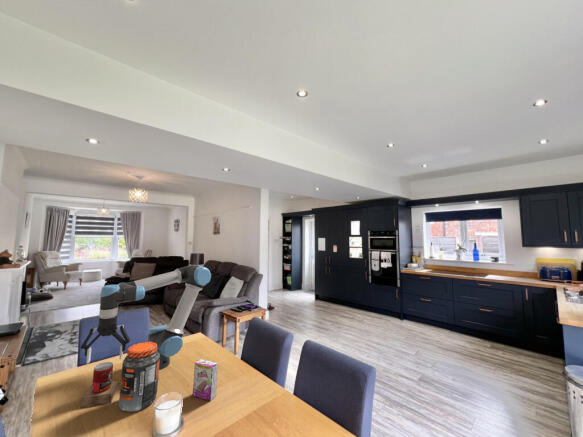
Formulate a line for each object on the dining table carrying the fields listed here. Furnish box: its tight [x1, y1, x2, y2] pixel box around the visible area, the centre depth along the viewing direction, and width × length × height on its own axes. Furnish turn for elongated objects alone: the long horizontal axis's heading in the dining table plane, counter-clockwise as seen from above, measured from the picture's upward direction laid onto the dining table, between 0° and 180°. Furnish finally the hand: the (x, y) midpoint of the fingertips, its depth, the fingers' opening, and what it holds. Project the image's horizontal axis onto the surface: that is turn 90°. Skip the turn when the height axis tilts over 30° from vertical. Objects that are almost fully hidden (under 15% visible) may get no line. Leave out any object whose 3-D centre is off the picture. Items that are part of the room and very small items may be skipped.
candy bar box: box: [192, 358, 219, 402], centre depth 125 cm, size 11×5×16 cm, turn 71°
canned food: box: [91, 361, 114, 393], centre depth 122 cm, size 8×8×11 cm
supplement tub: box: [118, 341, 160, 413], centre depth 120 cm, size 16×16×26 cm
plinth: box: [79, 380, 120, 409], centre depth 121 cm, size 12×12×4 cm
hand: (105, 360), depth 123 cm, fingers open, 13 cm apart
